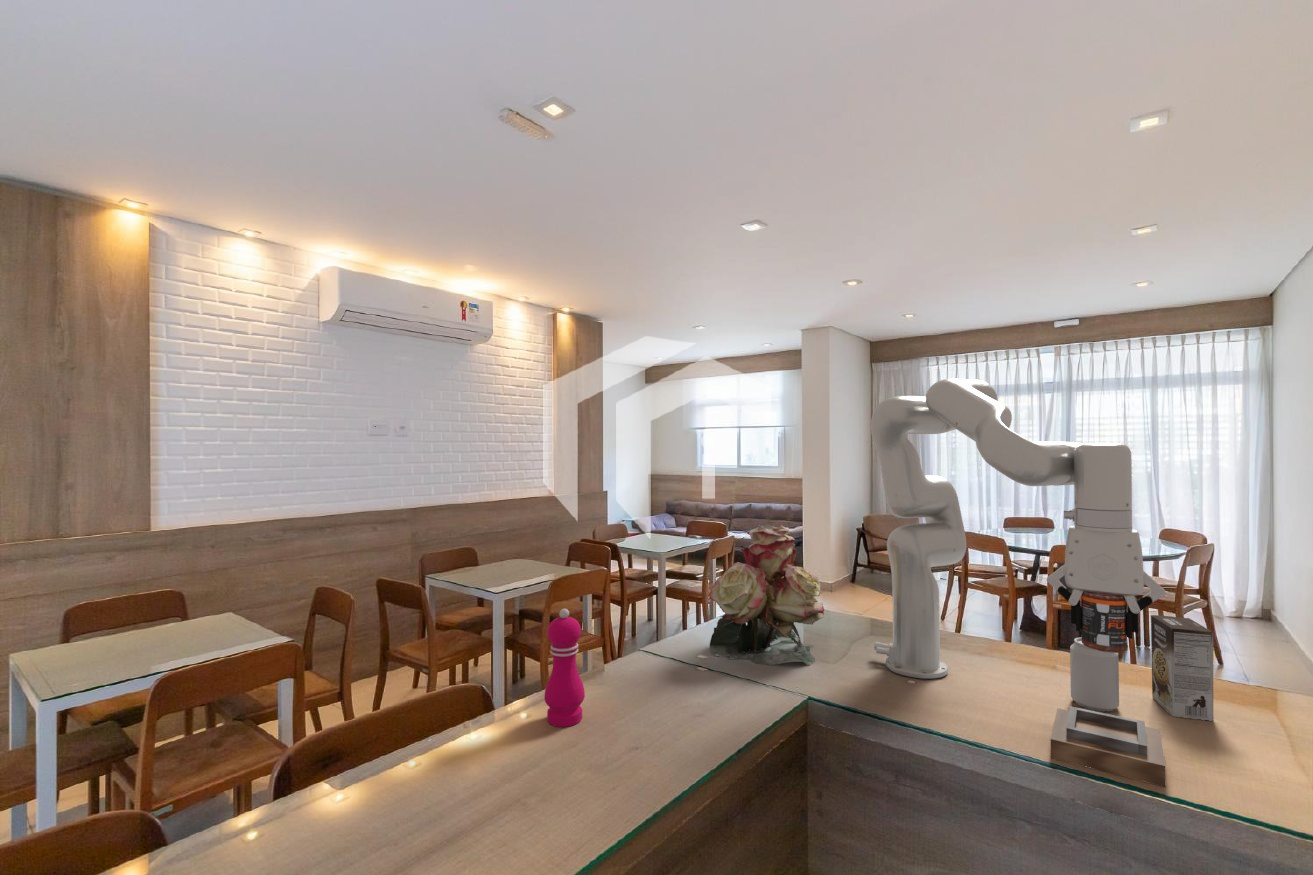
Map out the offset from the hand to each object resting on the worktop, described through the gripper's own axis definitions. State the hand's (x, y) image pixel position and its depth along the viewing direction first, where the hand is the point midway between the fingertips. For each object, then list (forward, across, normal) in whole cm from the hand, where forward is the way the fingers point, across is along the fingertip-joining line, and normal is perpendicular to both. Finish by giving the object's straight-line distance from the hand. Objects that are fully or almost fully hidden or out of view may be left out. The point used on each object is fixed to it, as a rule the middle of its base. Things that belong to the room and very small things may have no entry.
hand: (1103, 631), depth 99 cm
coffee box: (+20, +11, +28) cm, 36 cm away
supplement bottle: (+3, 0, 0) cm, 3 cm away
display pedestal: (+19, 0, 0) cm, 19 cm away
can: (+20, -2, +21) cm, 29 cm away
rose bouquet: (+20, -66, +14) cm, 70 cm away
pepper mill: (+20, -79, -42) cm, 91 cm away
